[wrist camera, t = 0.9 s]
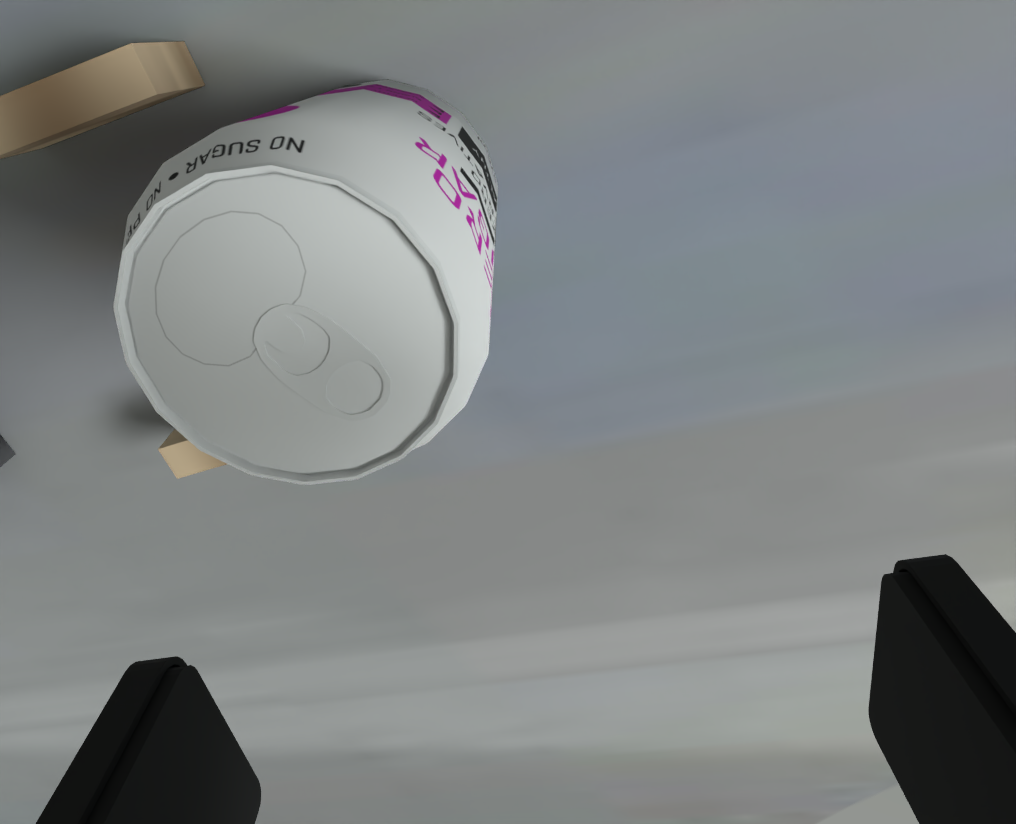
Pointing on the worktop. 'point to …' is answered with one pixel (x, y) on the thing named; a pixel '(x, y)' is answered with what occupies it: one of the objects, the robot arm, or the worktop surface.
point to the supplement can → (314, 282)
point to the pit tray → (5, 451)
